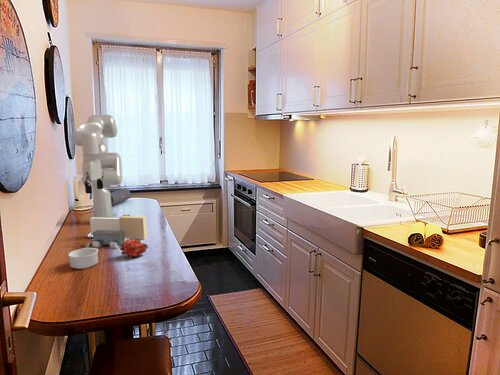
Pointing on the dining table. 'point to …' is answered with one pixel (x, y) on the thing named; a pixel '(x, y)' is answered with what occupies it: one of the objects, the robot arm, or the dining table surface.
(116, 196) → the bluetooth speaker
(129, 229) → the white rack
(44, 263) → the dining table surface
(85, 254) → the saucepan
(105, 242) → the grey metal block
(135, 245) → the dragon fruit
